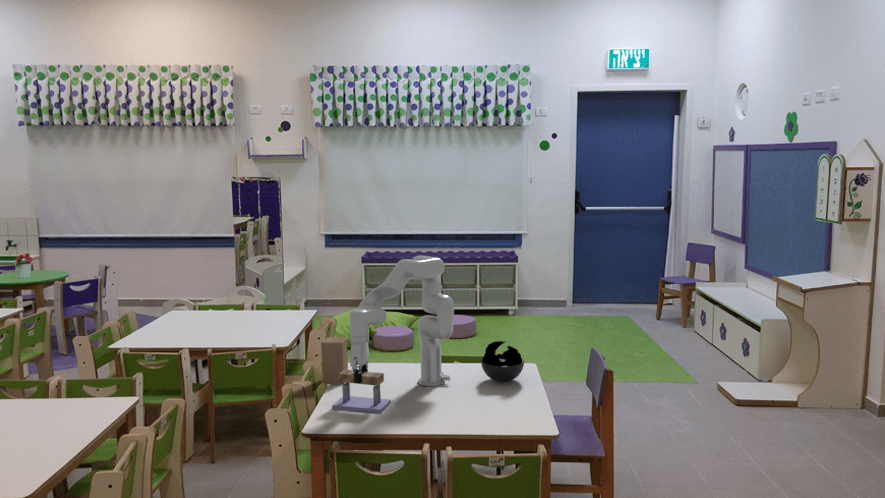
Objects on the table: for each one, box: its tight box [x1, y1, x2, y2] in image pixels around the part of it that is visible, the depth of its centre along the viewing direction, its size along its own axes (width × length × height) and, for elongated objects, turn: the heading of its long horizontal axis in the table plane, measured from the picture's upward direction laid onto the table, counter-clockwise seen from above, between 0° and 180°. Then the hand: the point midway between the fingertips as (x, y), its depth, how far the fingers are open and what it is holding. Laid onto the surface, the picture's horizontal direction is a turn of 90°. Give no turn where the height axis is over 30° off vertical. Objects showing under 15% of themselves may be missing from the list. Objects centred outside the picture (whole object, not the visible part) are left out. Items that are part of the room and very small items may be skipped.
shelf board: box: [339, 369, 385, 386], centre depth 293 cm, size 18×6×4 cm, turn 71°
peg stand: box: [331, 382, 392, 414], centre depth 294 cm, size 22×12×10 cm, turn 74°
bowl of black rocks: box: [480, 340, 525, 383], centre depth 322 cm, size 20×20×19 cm
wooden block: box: [320, 336, 349, 385], centre depth 327 cm, size 10×10×20 cm
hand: (361, 379), depth 293 cm, fingers closed on shelf board, 6 cm apart
